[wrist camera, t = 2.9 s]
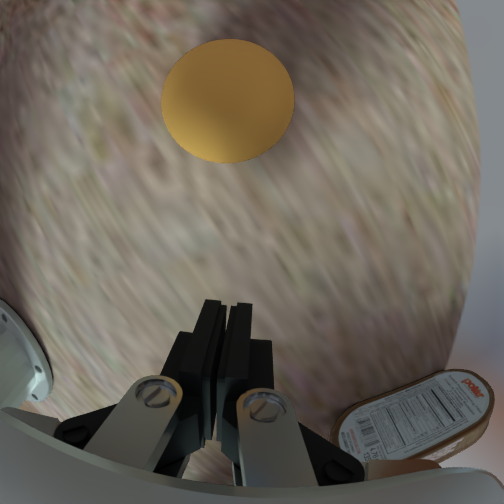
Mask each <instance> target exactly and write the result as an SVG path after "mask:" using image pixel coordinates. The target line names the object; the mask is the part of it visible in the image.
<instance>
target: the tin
mask: <svg viewBox="0 0 504 504" xmlns="http://www.w3.org/2000/svg"><path fill="white" fill-rule="evenodd" d="M494 401H495V398H494V392H493V390H492V388H491V386H490V385H489V384H488V382H486V380H484V379H483V378H482V377H480V376H479V375H478V374H476V373H474V372H472V371H469V370H464V369H450V370H443V371H440V372H437V373H434V374H432V375H430V376H427V377H425V378H423V379H421V380H418V381H416V382H413V383H411V384H408V385H406V386H403V387H401V388H398V389H396V390H393V391H390V392H387V393H385V394H382V395H379V396H376V397H373V398H370V399H367V400H364V401H362V402H359V403H357V404H355V405H354V406H352V407H350V408H349V409H348V410H346V411H345V412H344V413H343V414H342V415H341V416H340V417H339V418H338V420H337V421H336V422H335V424H334V426H333V428H332V431H331V434H330V443H332V444H334V445H335V446H337V447H339V448H340V449H342V450H344V451H345V452H347V453H349V454H350V455H352V456H354V457H355V458H356V459H358V460H359V461H360V462H367V461H368V459H380V460H413V459H428V460H432V461H434V462H437V463H438V464H439V463H441V462H443V461H444V460H446V459H449V458H450V457H452V456H454V455H456V454H458V453H460V452H461V451H463V450H465V449H467V448H468V447H470V446H472V445H473V444H474V443H476V442H477V441H478V440H479V439H480V438H481V436H482V435H483V434H484V432H485V430H486V429H487V426H488V424H489V420H490V417H491V414H492V411H493V407H494Z"/></svg>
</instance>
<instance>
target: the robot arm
mask: <svg viewBox="0 0 504 504" xmlns="http://www.w3.org/2000/svg"><path fill="white" fill-rule="evenodd" d="M226 311H227V305H221V301H218V300H208V299H206V300H205V302H204V305H203V307H202V310H201V313H200V315H199V318H198V320H197V323H196V326H195V328H194V331H193V333H190V332H183V331H180V332H179V334H178V335H177V338H176V340H175V342H174V344H173V347H172V349H171V351H170V353H169V355H168V358H167V360H166V362H165V364H164V367H163V369H162V371H161V374H160V375H151V376H147V377H143V378H141V379H139V380H137V381H136V382H135V383H134V384H133V385H132V386H131V387H130V389H129V390H128V391H127V392H126V394H125V395H124V396H123V398H122V399H121V400H120V402H119V403H117V404H114V405H112V406H108V407H105V408H102V409H99V410H96V411H93V412H90V413H86V414H83V415H80V416H76V417H73V418H70V419H67V420H65V421H63V422H60V421H59V420H58V418H54V417H49V416H44V415H40V414H36V413H32V412H28V411H24V410H20V409H19V408H20V406H21V405H22V404H23V402H24V401H25V400H28V401H32V402H41V401H43V400H45V399H46V398H47V397H48V395H49V394H50V392H51V390H52V384H53V380H52V375H51V371H50V368H49V365H48V362H47V360H46V357H45V355H44V353H43V351H42V349H41V347H40V346H39V344H38V342H37V340H36V339H35V337H34V336H33V334H32V333H31V331H30V330H29V328H28V327H27V326H26V324H25V323H24V322H23V320H22V319H21V318H20V317H19V316H18V315H17V314H16V313H15V311H14V310H13V309H12V308H11V307H9V306H8V305H7V304H6V303H5V302H4V301H2V300H1V299H0V504H504V485H503V484H502V483H501V481H500V480H499V479H498V478H497V477H496V476H495V475H493V474H492V473H490V472H488V471H486V470H482V469H478V468H466V467H464V468H463V467H452V468H442V467H441V466H440V465H439V464H438V463H437V462H434V461H432V460H428V459H413V460H380V459H368V461H367V462H360V461H359V460H358V459H356V458H355V457H354V456H352V455H350V454H349V453H347V452H345V451H344V450H342V449H340V448H339V447H337V446H335V445H334V444H332V443H330V442H329V441H327V440H326V439H324V438H322V437H321V436H319V435H318V434H316V433H314V432H313V431H311V430H310V429H308V428H307V427H305V426H304V425H302V424H301V423H299V422H298V421H297V418H296V415H295V412H294V409H293V406H292V403H291V402H290V400H289V398H287V397H286V396H285V395H284V394H283V393H281V392H279V391H277V390H274V376H273V355H272V341H271V340H259V339H250V337H251V321H252V304H250V303H239V302H237V306H231V309H230V314H229V319H228V324H227V328H226ZM216 412H217V441H222V443H221V451H222V452H223V453H224V454H225V455H226V456H227V457H228V458H229V459H230V460H231V461H232V470H233V480H234V486H230V485H220V484H212V483H205V482H198V481H192V480H186V479H181V478H182V476H183V473H184V471H185V469H186V467H187V464H188V462H189V459H190V454H191V453H193V452H195V451H196V450H198V449H200V447H201V448H204V445H205V440H206V439H207V440H212V436H213V430H214V424H215V418H216Z"/></svg>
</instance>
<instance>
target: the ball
mask: <svg viewBox="0 0 504 504" xmlns="http://www.w3.org/2000/svg"><path fill="white" fill-rule="evenodd" d="M161 107H162V114H163V119H164V121H165V124H166V126H167V129H168V130H169V132H170V134H171V136H172V137H173V138H174V139H175V141H176V142H177V143H178V144H179V145H180V146H181V147H182V148H184V149H185V150H186V151H188V152H189V153H191V154H193V155H195V156H196V157H199V158H201V159H204V160H207V161H211V162H216V163H236V162H242V161H246V160H249V159H252V158H254V157H257V156H259V155H261V154H262V153H264V152H266V151H267V150H268V149H270V148H271V147H272V146H273V145H274V144H276V143H277V142H278V140H279V139H280V138H281V137H282V136H283V134H284V133H285V131H286V129H287V128H288V125H289V123H290V121H291V118H292V115H293V111H294V89H293V85H292V81H291V78H290V76H289V74H288V72H287V70H286V69H285V67H284V66H283V64H282V63H281V62H280V61H279V60H278V59H277V58H276V57H275V56H274V55H273V54H272V53H271V52H269V51H268V50H266V49H265V48H263V47H261V46H259V45H257V44H255V43H252V42H249V41H244V40H238V39H220V40H214V41H210V42H207V43H204V44H202V45H199V46H197V47H195V48H194V49H192V50H190V51H189V52H188V53H186V54H185V55H184V56H183V57H182V58H180V59H179V60H178V62H177V63H176V64H175V65H174V66H173V68H172V69H171V71H170V72H169V74H168V76H167V78H166V80H165V83H164V86H163V91H162V98H161Z"/></svg>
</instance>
